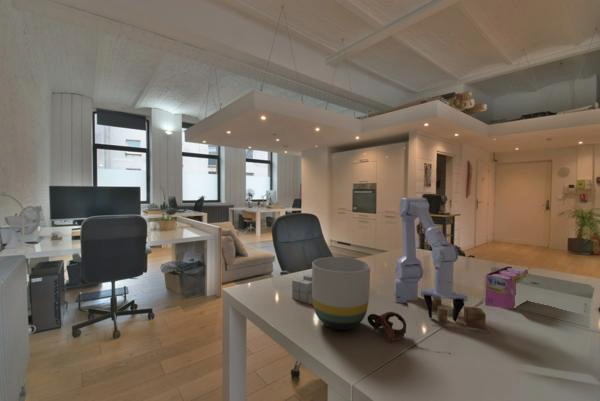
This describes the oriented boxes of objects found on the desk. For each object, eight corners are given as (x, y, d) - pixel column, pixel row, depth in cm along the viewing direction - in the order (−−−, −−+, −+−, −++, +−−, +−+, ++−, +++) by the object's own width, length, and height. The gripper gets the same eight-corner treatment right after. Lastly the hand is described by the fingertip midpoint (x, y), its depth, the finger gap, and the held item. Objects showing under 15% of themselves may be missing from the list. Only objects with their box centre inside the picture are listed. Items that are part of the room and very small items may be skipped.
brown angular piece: (440, 327, 92) (441, 312, 92) (436, 317, 99) (436, 303, 99) (486, 334, 88) (487, 318, 88) (478, 323, 95) (479, 308, 95)
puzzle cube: (315, 305, 110) (315, 286, 109) (291, 298, 117) (292, 280, 117) (330, 296, 119) (330, 279, 119) (307, 290, 126) (308, 273, 126)
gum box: (507, 295, 125) (509, 265, 125) (529, 300, 118) (530, 269, 118) (484, 306, 112) (485, 273, 111) (507, 313, 105) (508, 279, 105)
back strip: (435, 315, 101) (435, 301, 101) (431, 307, 108) (432, 294, 108) (476, 321, 97) (477, 306, 97) (470, 312, 104) (470, 298, 104)
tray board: (431, 329, 91) (431, 325, 91) (422, 306, 110) (422, 302, 110) (489, 338, 87) (490, 333, 87) (470, 312, 105) (470, 308, 105)
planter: (331, 346, 81) (333, 275, 80) (301, 318, 98) (302, 260, 97) (381, 332, 90) (382, 267, 89) (345, 308, 107) (346, 254, 106)
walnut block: (467, 327, 91) (468, 312, 91) (463, 320, 96) (464, 306, 95) (485, 329, 89) (485, 314, 89) (479, 322, 94) (480, 308, 94)
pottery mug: (399, 328, 93) (408, 313, 89) (400, 354, 85) (409, 339, 81) (364, 316, 95) (371, 301, 91) (362, 340, 87) (369, 325, 83)
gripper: (422, 281, 93) (421, 320, 93) (470, 286, 89) (469, 327, 89) (419, 275, 100) (418, 311, 100) (464, 279, 96) (463, 317, 96)
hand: (442, 318), depth 95 cm, fingers open, 7 cm apart
